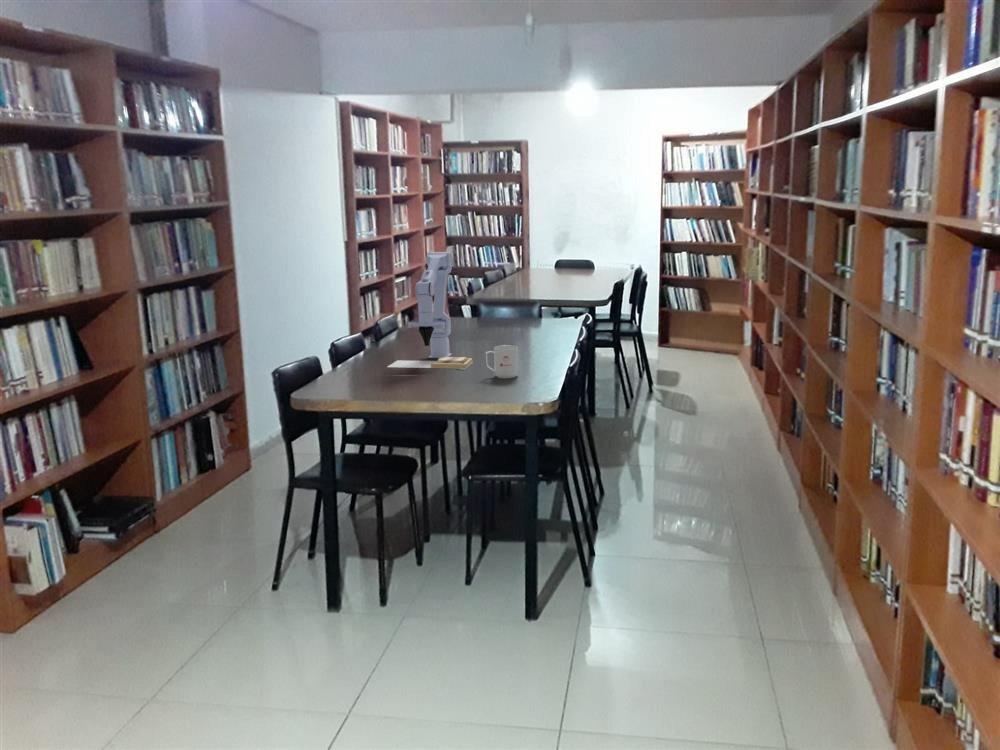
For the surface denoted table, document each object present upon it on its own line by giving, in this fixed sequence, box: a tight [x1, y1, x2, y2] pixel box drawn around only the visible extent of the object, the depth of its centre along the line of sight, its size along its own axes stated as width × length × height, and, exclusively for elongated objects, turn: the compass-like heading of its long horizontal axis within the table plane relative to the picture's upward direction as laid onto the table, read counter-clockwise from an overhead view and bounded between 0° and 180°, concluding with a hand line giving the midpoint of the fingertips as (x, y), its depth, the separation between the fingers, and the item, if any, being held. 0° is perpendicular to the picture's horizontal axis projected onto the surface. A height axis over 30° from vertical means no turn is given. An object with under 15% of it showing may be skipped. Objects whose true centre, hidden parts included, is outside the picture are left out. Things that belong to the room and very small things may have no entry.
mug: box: [485, 344, 519, 379], centre depth 327 cm, size 12×9×11 cm
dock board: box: [387, 357, 474, 371], centre depth 352 cm, size 14×32×2 cm, turn 79°
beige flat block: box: [436, 356, 467, 364], centre depth 350 cm, size 10×7×2 cm
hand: (427, 345), depth 351 cm, fingers closed
